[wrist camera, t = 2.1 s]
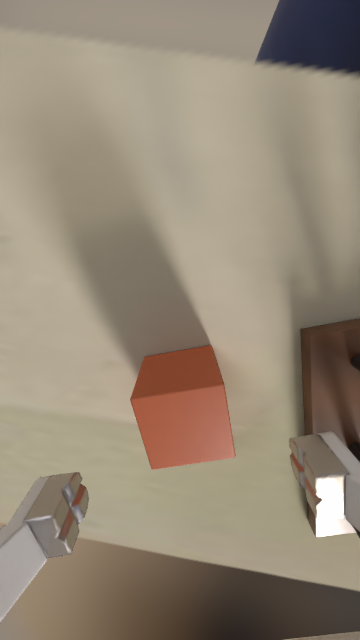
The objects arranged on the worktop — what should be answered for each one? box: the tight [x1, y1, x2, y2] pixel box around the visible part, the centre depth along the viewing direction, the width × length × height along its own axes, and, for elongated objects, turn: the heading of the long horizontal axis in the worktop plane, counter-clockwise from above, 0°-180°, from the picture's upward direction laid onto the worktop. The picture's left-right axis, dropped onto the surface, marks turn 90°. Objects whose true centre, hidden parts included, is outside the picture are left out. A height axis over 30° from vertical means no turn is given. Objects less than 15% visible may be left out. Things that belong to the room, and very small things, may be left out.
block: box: [130, 345, 236, 469], centre depth 12 cm, size 4×4×4 cm
